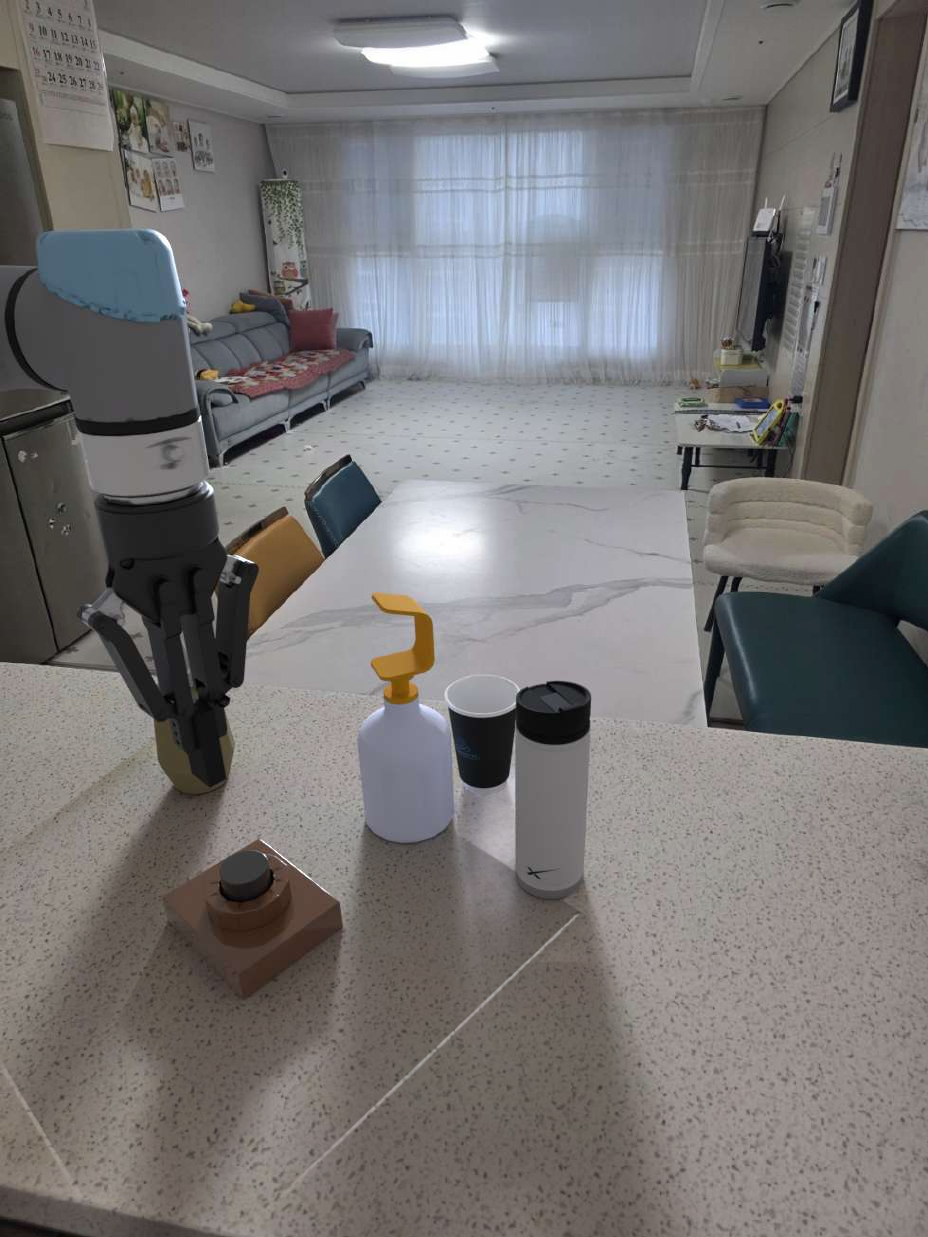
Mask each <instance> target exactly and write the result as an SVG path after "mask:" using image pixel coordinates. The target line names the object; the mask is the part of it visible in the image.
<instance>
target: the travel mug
mask: <svg viewBox="0 0 928 1237" xmlns="http://www.w3.org/2000/svg"><path fill="white" fill-rule="evenodd" d="M591 710H592V693H591V692H590V690H589V689H588V688H587V687H586V686H583V685H582V684H579V683H577V682H573V681H567V680H548V681H546V682H545V683H540V684H534V685H532V686H524V687H523V688H521V689H520V691H519V692H518V693H517V695H516V721H515V734H514V765H515V766H514V767H515V768H514V787H515V788H514V828H515V829H514V839H515V840H514V842H515V843H514V845H515V846H514V853H515V854H514V863H515V864H514V867H515V868H514V871H515V872H514V874H515V875H514V876H515V879H516V881H517V883H518V885H519V886H520V887H521V888H522V890H524V891H525V892H527V893H528V894H529V895H532V896H534V897H535V898H539V899H545V900H559V899H564V898H567V897H568V896H571V895H572V894H574V893H575V892H577V891H578V890H579V888H581V886H582V883H583V882H584V874H585V852H586V834H587V833H586V831H587V812H588V811H587V810H588V792H589V791H588V789H589V788H588V787H589V770H590V769H589V766H590V746H591V712H592V711H591Z"/></svg>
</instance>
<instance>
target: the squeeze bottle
mask: <svg viewBox="0 0 928 1237" xmlns="http://www.w3.org/2000/svg"><path fill="white" fill-rule="evenodd" d="M181 642H182V648H183V653H184V658H185V663H186V668H187V674H188V679H189V684H190V689H191V694H192V697H194V696H196V697H197V698H198V694H197V693H196V692H195V691H194V687H193V682H192V676H191V671H190V666H189V661H188V656H187V651H186V646H185V642H184V640H183V639H182V638H181ZM155 672H156V669H155ZM155 675H156V676H157V674H156V673H155ZM156 679H157V681H158V678H157V677H156ZM156 685H157V686H158V688H159V683H158V682H156ZM159 690H160V688H159ZM198 699H199V698H198ZM224 710H225V708H224ZM225 716H226V717H225V718H226V722H227V727H228V729H227V734H226V735H225V736H223V737H221V738H219V739H220V745H221V750H222V756H223V761H224V767H225V772H226V778H227V779H226V780H224V781H222V782H220V783H218V784H216V785H215V786H213V787H211V788H209V787H208V786H207V785H206V784H204V783H203V782H202V781H201V780H199V779H198V778H197V777H196V776H194V775H193V774H192V772H191V767H190V763H189V758H188V754H186V753H185V752H184V751H182V750H181V749H180V748H178V747H177V746H176V744H175V743H174V740H173V735H172V730H171V726H170V721H169V718H168V719H167V720H166V721H164V722H158V721H156V720H155V719H153V724H154V725H153V728H154V736H155V737H154V738H155V746H156V754H157V756H156V757H157V761H158V764H159V766H160V768H161V770H162V771H163V773H165V775H166V776H167V778H168V779H169V780H170V782H171V783H172V785H173V786H174V787H175V788H176V790H178V791H180V792H181V793H183V794H189V795H199V794H206V793H209V792H213V791H215V790H216V789H219V788H220V787H221V786H223V785H224V784H225V783H226V782H227V781H228V779H229V778H230V772H231V769H232V768H231V767H232V763H233V758H234V752H235V748H236V742H235V738H234V736H233V732H232V728H231V725H230V722H229V719H228V715H227V713H226V710H225Z"/></svg>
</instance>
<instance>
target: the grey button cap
mask: <svg viewBox="0 0 928 1237" xmlns="http://www.w3.org/2000/svg"><path fill="white" fill-rule="evenodd" d="M234 853H235V854H234ZM234 853H232V854H233V855H232V854H231V855H229V856H230V857H229V856H227V857H228V858H227V857H226V858H227V859H226V858H225V859H226V860H225V861H224V862H223V863H222V865H221V867H220V870H219V874H220V879H221V884H222V889H223V893H224V895H225V896H226V898H228V899H229V900H231V901H233V902H246V901H250V900H255V899H257V898H259V897H260V896H262V895H263V894H265V893H266V892H267V890H268V889H269V887H270V885H271V875H270V869H269V863H268V859H267V857H266V856H265V855H264V854H263V853H261V852H258V851H253V850H247V851H241V852H238V853H236V852H234Z"/></svg>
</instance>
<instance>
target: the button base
mask: <svg viewBox="0 0 928 1237" xmlns="http://www.w3.org/2000/svg"><path fill="white" fill-rule="evenodd" d="M247 850H253V851H258V852H261V853H263V854H264V855H265V856H266V857H267V859H268V863H269V869H270V875H271V885H270V887H269V889H268V890H267V892H266V893H265V894H263V895H262V896H260V897H259V898H257V899H255V900H250V901H246V902H233V901H231V900H229V899H228V898H226V896H225V895H224V893H223V889H222V884H221V879H220V874H219V870H220V867H221V865H222V863H223V862H224V861H225V860H226V859H227V858H228V857H230V856H231V855H233V854H235V853H238V852H241V851H247ZM231 855H229V856H227V857H226V858H224V859H222V860H220V861H219V862H218V863H215V864H214V865H212V866H211V867H209V868H207V869H206V870H204V871H202V872H201V873H199V874H197V875H195V876H194V877H192V878H191V879H189V880H187V881H186V882H184V883H182V884H181V885H179V886H177V887H176V888H173V890H171V891H169V892H167V893H166V894H164V895H162V897H161V900H162V903H163V907H164V912H165V916H166V919H167V923H168V924H169V925H170V926H171V927H172V928H173V929H174V930H175V931H176V932H177V933H178V934H179V935H180V936H181V938H183V939H184V940H185V941H186V942H187V943H188V944H189V945H190V947H192V949H193V950H195V952H196V953H197V954H198V955H199V956H200V957H201V958H202V959H203V960H204V961H205V962H206V963H207V965H209V966H210V967H211V968H212V969H213V970H214V971H215V972H216V973H217V974H218V975H219V977H221V978H222V979H223V981H224V982H226V983H227V985H228V986H229V987H230V988H231V989H232V990H233V991H234V992H235V993H236V994H237V995H238V996H239V997H240V998H241V999H242V1000H243V1001H246V1000H247V999H248V998H249V997H251V996H252V995H254V994H255V993H256V992H257V991H259V990H260V989H262V988H263V987H265V986H266V985H267V984H268V983H270V982H271V981H273V980H274V979H275V978H277V977H278V976H279V975H281V974H282V973H283V972H285V971H286V970H287V969H289V968H290V967H291V966H293V965H294V964H295V963H297V962H298V961H300V960H301V959H302V958H304V957H305V956H307V954H309V953H310V952H312V951H313V950H314V949H316V948H317V947H318V946H320V945H321V944H323V943H324V942H325V941H326V940H328V939H329V938H331V937H332V936H333V935H335V934H336V933H338V932H339V931H340V930H342V929H343V927H344V925H343V917H342V909H341V902H340V901H339V900H338V899H337V898H336V897H334V896H333V895H332V894H331V893H329V892H328V891H327V890H326V889H324V887H322V886H321V885H319V884H318V883H317V882H315V881H314V880H313V879H312V878H311V877H309V876H308V875H306V874H305V873H304V872H303V871H302V870H300V869H299V868H298V867H297V866H295V865H294V864H293V863H292V862H291V861H289V860H288V859H286V857H284V856H283V855H281V854H280V853H279V852H278V851H276V849H274V848H272V847H271V846H270V845H269V844H268V843H267V842H265V841H264V840H263V839H262V838H257V839H256V840H254V841H252V842H250V843H249V844H247V845H245V846H244V847H242V848H240V849H239V850H237V851H236V852H234V853H232V854H231Z"/></svg>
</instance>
